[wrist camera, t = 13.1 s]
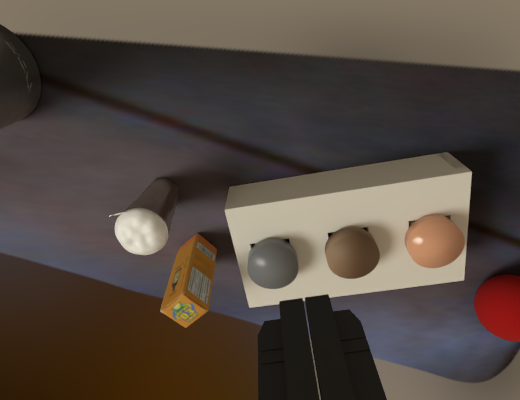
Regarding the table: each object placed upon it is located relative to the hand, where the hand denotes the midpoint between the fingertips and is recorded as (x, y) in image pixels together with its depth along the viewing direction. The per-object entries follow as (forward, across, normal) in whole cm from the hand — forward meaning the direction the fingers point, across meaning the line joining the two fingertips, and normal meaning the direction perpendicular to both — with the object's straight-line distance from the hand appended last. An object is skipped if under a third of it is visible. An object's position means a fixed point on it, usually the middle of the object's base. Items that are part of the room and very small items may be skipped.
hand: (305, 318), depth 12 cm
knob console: (+27, -6, +13) cm, 30 cm away
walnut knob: (+26, -5, +13) cm, 30 cm away
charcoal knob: (+27, +2, +13) cm, 30 cm away
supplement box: (+28, +10, +14) cm, 33 cm away
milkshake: (+28, +13, +6) cm, 31 cm away
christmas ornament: (+26, -23, +25) cm, 43 cm away
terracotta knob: (+26, -13, +13) cm, 32 cm away
